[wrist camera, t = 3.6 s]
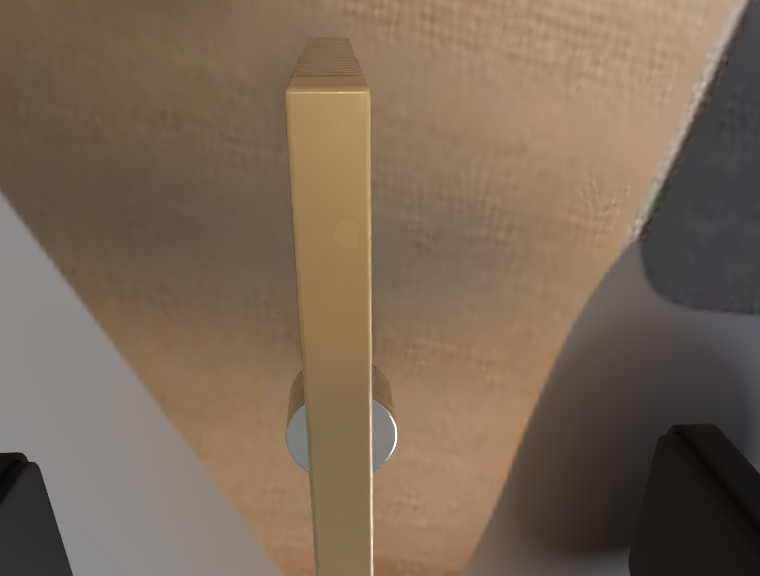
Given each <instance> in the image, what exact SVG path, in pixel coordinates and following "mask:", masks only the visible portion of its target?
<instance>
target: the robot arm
mask: <svg viewBox="0 0 760 576" xmlns="http://www.w3.org/2000/svg"><path fill="white" fill-rule="evenodd" d="M629 570H630V575H631V576H760V474H759V473H758V472H757V471H756V470H755V468H754V467H753V466H752V465H751V464H750V463H749V462H748V460H747V459H746V458H745V457H744V456H743V455H742V454H741V453H740V452H739V450H738V449H737V448H736V447H735V446H734V445H733V444H732V443H731V441H730V440H729V439H728V438H727V437H726V436H725V435H724V434H723V433H722V431H721V430H720V429H719V428H717V427H716V426H715V425H712V424H687V425H674V426H672V427H671V428H670V429H669V430H668V432H667V435H662V436H660V438H659V439H658V442H657V445H656V449H655V453H654V457H653V461H652V465H651V469H650V473H649V477H648V481H647V485H646V489H645V494H644V498H643V502H642V506H641V510H640V514H639V518H638V522H637V526H636V530H635V534H634V539H633V542H632V546H631V551H630V554H629ZM0 576H73V574H72V571H71V568H70V564H69V561H68V558H67V555H66V551H65V548H64V545H63V542H62V538H61V535H60V532H59V529H58V526H57V523H56V519H55V516H54V513H53V510H52V506H51V503H50V500H49V497H48V493H47V490H46V487H45V484H44V480H43V477H42V474H41V471H40V468H39V466H38V465H37V464H36V463H35V462H29V461H28V460H27V457H26V456H25V455H24V454H23V453H17V452H16V453H15V452H14V453H0Z"/></svg>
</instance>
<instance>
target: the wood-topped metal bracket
mask: <svg viewBox="0 0 760 576" xmlns="http://www.w3.org/2000/svg"><path fill="white" fill-rule="evenodd" d="M284 99H285V114H286V129H287V144H288V159H289V175H290V190H291V205H292V220H293V235H294V250H295V265H296V280H297V296H298V311H299V326H300V341H301V356H302V371H301V372H300V373H299V374H298V376H297V377H296V378H295V380H294V382H293V384H292V387H291V390H290V397H289V407H288V417H287V427H286V444H287V447H288V450H289V452H290V454H291V456H292V458H293V459H294V460H295V462H296V463H297V464H298V465H299V466H300V467H302V468H303V469H304V470H306V471H307V472H309V477H310V492H311V507H312V522H313V538H314V553H315V568H316V576H374V568H373V471H374V470H376V469H377V468H379V467H380V466H381V465H382V464H384V463H385V462H386V460H387V459H388V458H389V457H390V455H391V453H392V452H393V450H394V447H395V445H396V441H397V426H396V419H395V413H394V406H393V400H392V393H391V388H390V385H389V382H388V380H387V378H386V376H385V375H384V374H383V373H382V371H381V370H380V369H379V368H378V367H376V366H375V365H374V364H372V246H371V92H370V90H369V87H368V85H367V82H366V80H365V77H364V75H363V72H362V70H361V68H360V65H359V63H358V60H357V58H356V56H355V53H354V51H353V48H352V46H351V44H350V41H349V39H347V38H310V39H309V40H308V42H307V44H306V46H305V48H304V50H303V52H302V54H301V56H300V59H299V61H298V63H297V65H296V67H295V69H294V71H293V73H292V76H291V78H290V80H289V82H288V84H287V87H286V89H285V92H284Z"/></svg>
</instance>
